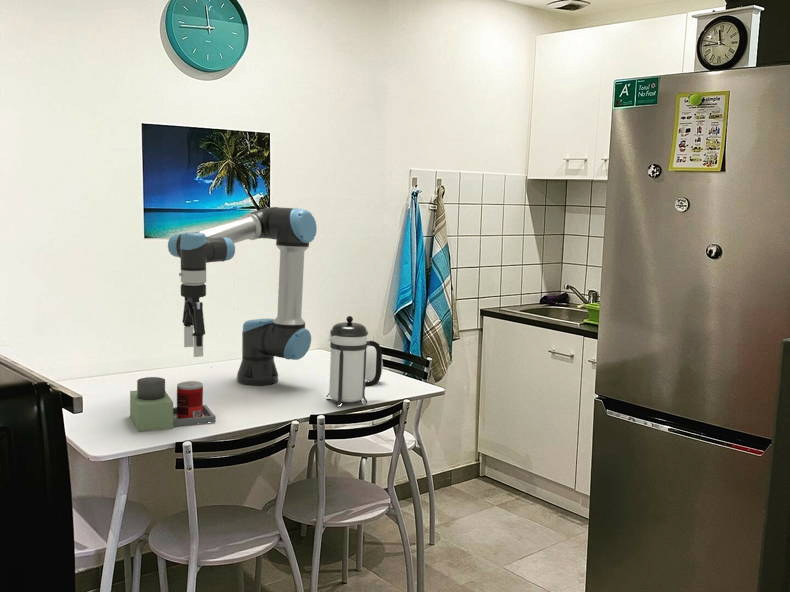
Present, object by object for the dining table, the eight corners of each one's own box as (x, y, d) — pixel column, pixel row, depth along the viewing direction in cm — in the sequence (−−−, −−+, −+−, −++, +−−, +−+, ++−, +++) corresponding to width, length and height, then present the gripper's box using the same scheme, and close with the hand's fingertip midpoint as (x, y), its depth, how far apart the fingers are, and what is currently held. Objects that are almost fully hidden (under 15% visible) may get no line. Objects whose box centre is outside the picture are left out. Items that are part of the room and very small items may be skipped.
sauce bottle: (381, 385, 289) (383, 338, 286) (360, 384, 289) (362, 337, 286) (382, 380, 296) (384, 334, 294) (362, 379, 297) (364, 333, 294)
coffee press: (359, 411, 255) (363, 322, 251) (316, 404, 261) (319, 316, 257) (380, 398, 271) (384, 314, 267) (340, 392, 277) (343, 310, 273)
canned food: (204, 415, 243) (205, 381, 241) (199, 423, 235) (199, 388, 234) (180, 414, 243) (180, 380, 241) (174, 422, 235) (174, 387, 233)
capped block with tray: (204, 409, 249) (205, 370, 247) (216, 424, 235) (217, 382, 233) (130, 416, 239) (130, 375, 237) (137, 431, 225) (137, 388, 223)
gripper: (172, 278, 244) (173, 343, 248) (189, 289, 222) (189, 361, 226) (196, 277, 248) (196, 342, 251) (215, 289, 226) (215, 359, 229)
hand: (193, 351), depth 238 cm, fingers open, 13 cm apart
